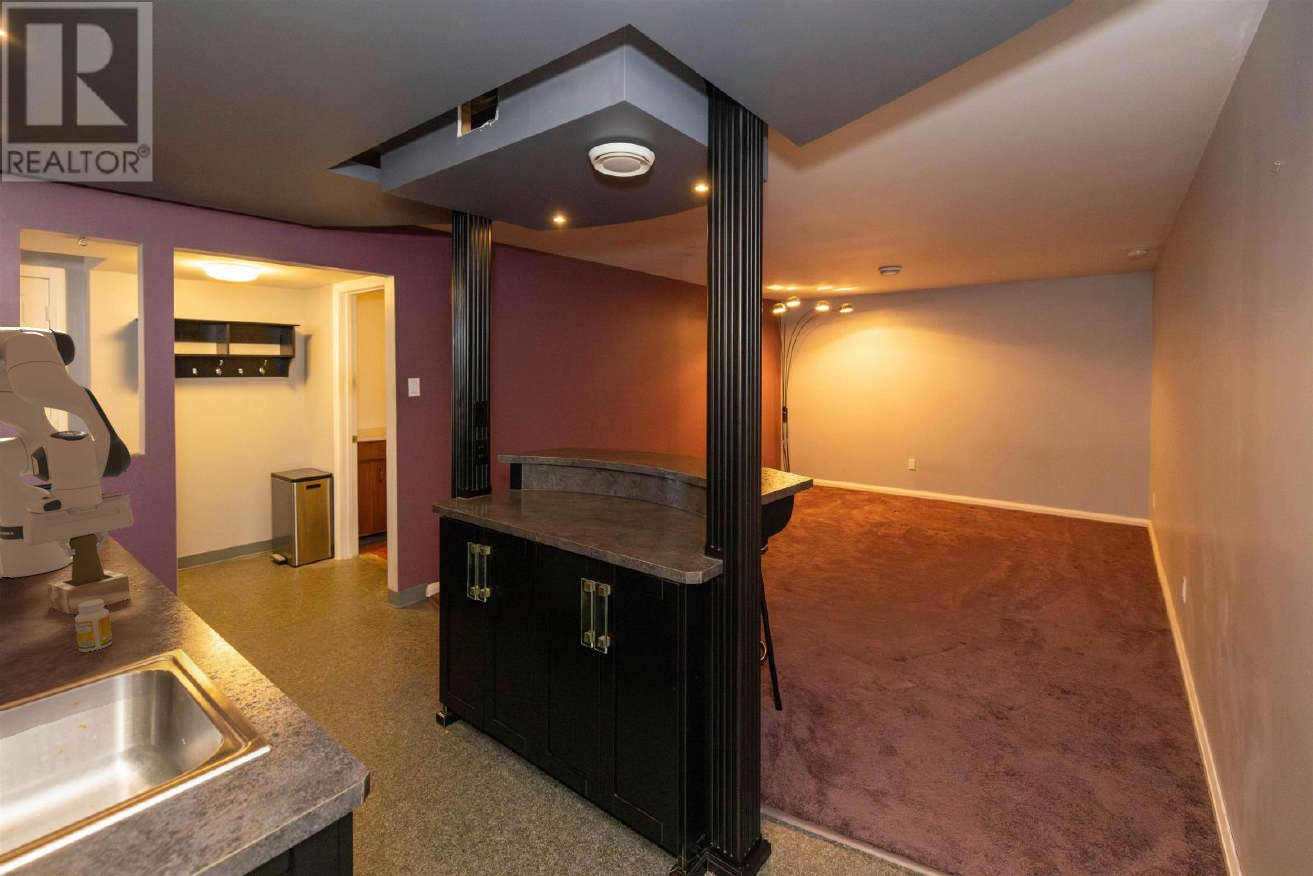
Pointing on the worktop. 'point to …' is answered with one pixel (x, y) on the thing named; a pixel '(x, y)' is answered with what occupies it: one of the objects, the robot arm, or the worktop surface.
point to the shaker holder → (88, 591)
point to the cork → (85, 559)
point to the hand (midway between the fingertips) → (84, 553)
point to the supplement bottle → (93, 626)
